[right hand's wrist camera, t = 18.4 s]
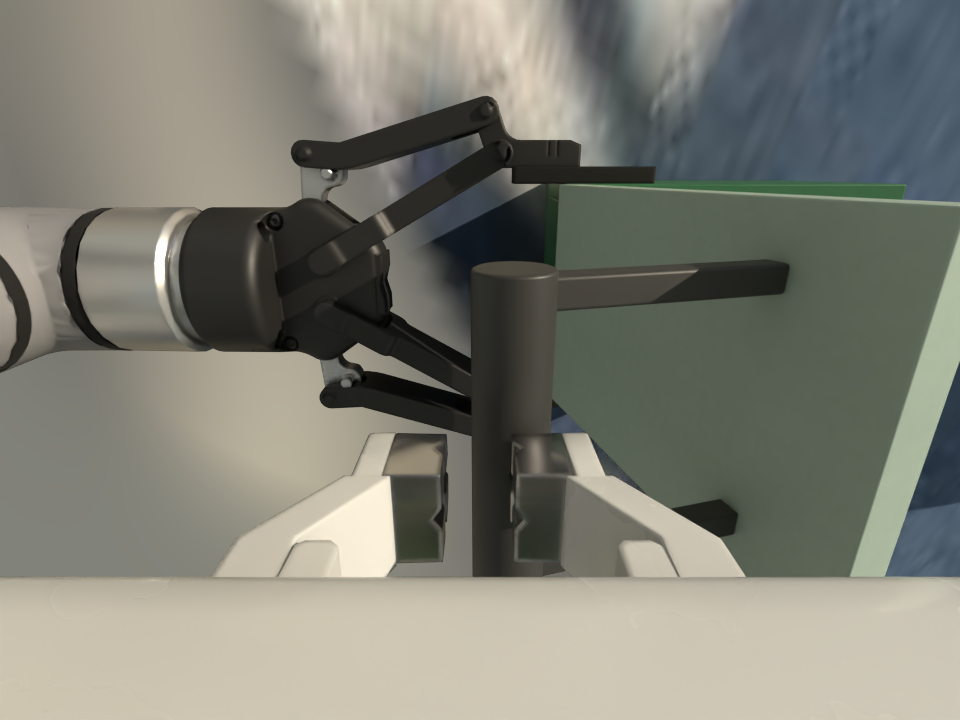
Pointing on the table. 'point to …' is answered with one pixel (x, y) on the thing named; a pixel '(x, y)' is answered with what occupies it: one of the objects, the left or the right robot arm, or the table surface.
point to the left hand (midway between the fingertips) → (635, 283)
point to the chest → (733, 186)
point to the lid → (727, 365)
